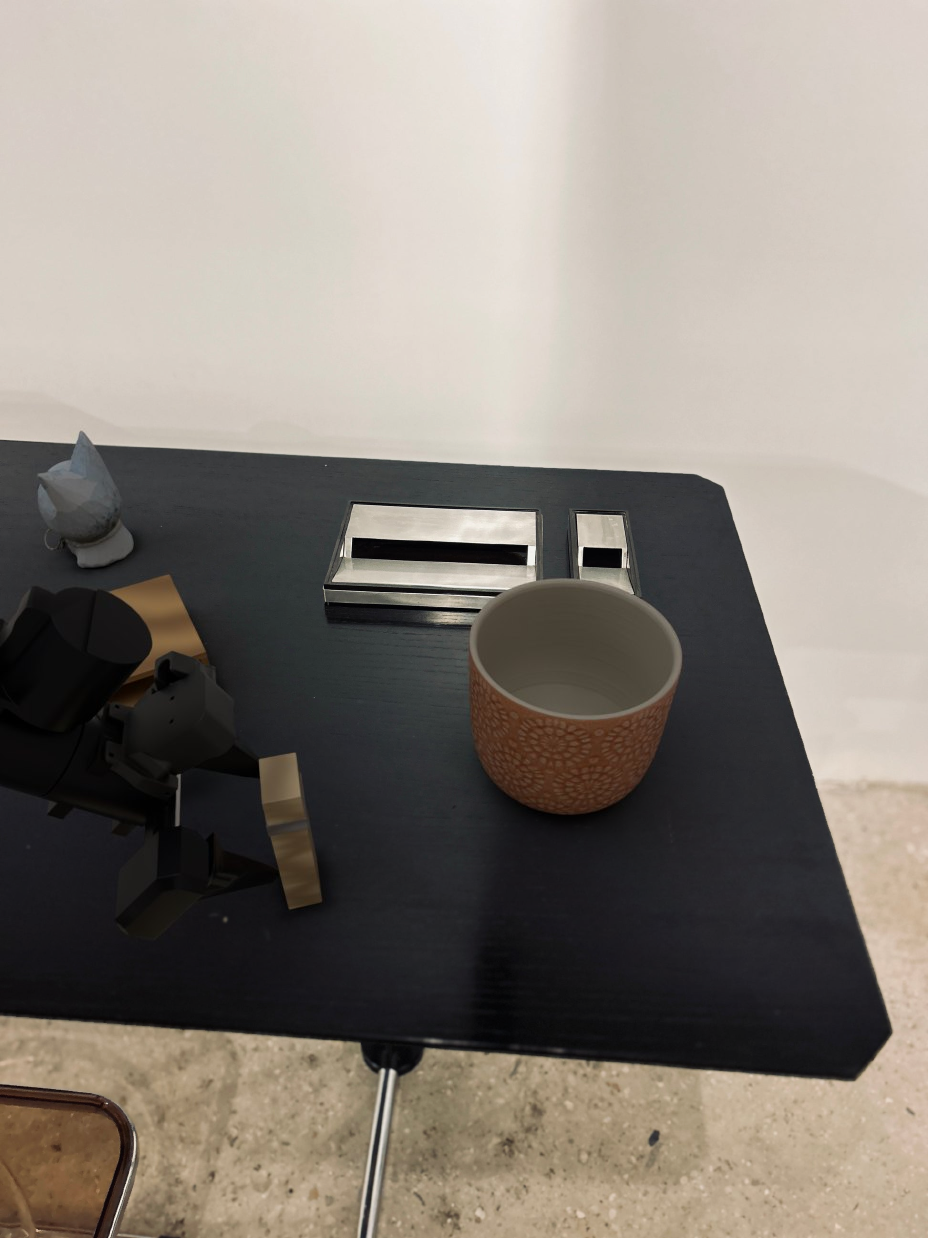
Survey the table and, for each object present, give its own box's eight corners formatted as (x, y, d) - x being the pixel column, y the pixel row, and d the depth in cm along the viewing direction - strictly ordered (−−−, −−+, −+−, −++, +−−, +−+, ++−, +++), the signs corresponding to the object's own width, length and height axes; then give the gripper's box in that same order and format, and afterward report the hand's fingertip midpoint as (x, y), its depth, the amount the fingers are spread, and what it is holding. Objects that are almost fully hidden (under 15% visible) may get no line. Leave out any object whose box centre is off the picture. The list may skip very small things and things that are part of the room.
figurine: (99, 524, 102) (63, 417, 93) (151, 542, 99) (119, 434, 89) (37, 563, 96) (-10, 452, 86) (91, 584, 92) (48, 472, 83)
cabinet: (216, 690, 79) (206, 651, 76) (88, 736, 74) (70, 696, 71) (180, 612, 89) (169, 573, 85) (64, 647, 84) (47, 609, 80)
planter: (679, 829, 67) (717, 706, 57) (483, 855, 65) (489, 731, 55) (618, 689, 80) (641, 569, 70) (454, 707, 78) (454, 586, 68)
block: (287, 911, 61) (260, 805, 52) (283, 865, 64) (257, 758, 55) (323, 903, 61) (302, 797, 53) (318, 857, 64) (296, 750, 56)
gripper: (120, 796, 38) (363, 872, 47) (142, 574, 52) (326, 666, 61) (6, 917, 42) (252, 966, 51) (55, 679, 55) (241, 751, 65)
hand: (271, 822), depth 57 cm, fingers open, 9 cm apart
